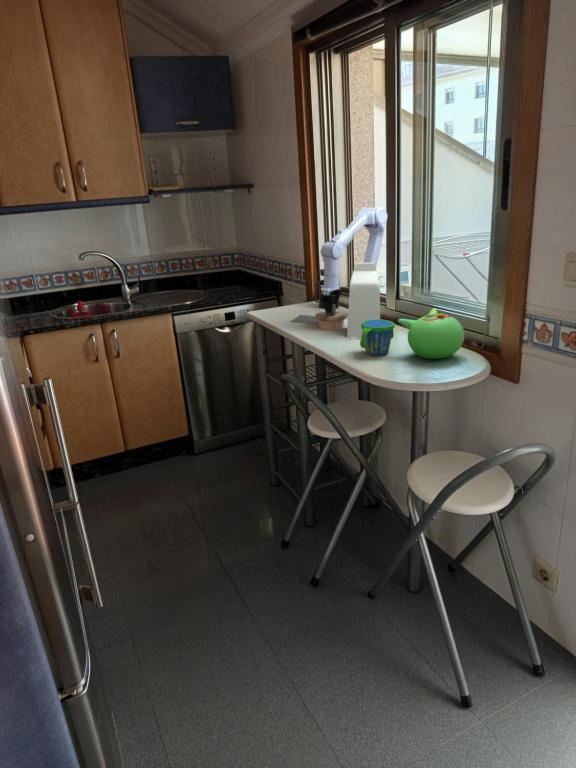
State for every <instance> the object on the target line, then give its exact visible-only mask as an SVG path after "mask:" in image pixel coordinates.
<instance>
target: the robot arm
mask: <svg viewBox="0 0 576 768" xmlns="http://www.w3.org/2000/svg"><path fill="white" fill-rule="evenodd" d="M356 214H357V215H356V216H355V218H354V219H353V220H352V222H351V223H350V224H349V225H348V226H347V227H346V228H342V229H339V230H338V232H337V233H336V235H334V236H333V237H332V238H331V239H330V241H326V242H325V243H323V244H322V246H321V249H320V255H321V257H322V261H323V269H324V276H323V280H324V286H323V285H321V289H323V291H322V292H323V293H322V292H321V293H322V294H320V297H321V299H322V301H323V303H324V307H325V309H324V312H326V313H331V312H332V306H333V304H336V308H337V306H338V301H339V302H340V297H341V295H342V293H343V290H342V289H340V258H341V257H342V256H343V253H344V251H345V249H346V247H347V246H348V245H349V244H350V243H351V242H352V241H353V239H354V238H353V236H354V235H355V234H357V232H359V231H360V230H361V229H362V228H363V227H364V228H365V229H366V230H367V231H368V232H369V235H368V241H367V244H366V250H365V253H364V259H363V262H362V263H374V266H375V268H376V269H377V264H378V261H379V256H380V252H381V247H382V244H383V239H384V234H385V230H386V229H385V228H386V224H387V221H388V213H387V210H386V209H385V208H384V207H382V206H380V207H369V206H368V207H367V206H363V207H361V208H360V210H358V211H357V213H356Z"/></svg>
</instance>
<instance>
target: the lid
mask: <svg viewBox="0 0 576 768" xmlns="http://www.w3.org/2000/svg"><path fill="white" fill-rule="evenodd" d="M336 310H337V309H336V304H333V306H332V312H331V313H326V312H325V311H324V312H323V311H322V312H318V313H315V315H314V316H315V318H316V319H317V320H321V321H340V320H344V321H345V320H346V319H347V314H346V313H344V312H340V311H336Z"/></svg>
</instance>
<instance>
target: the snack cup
mask: <svg viewBox="0 0 576 768" xmlns="http://www.w3.org/2000/svg"><path fill="white" fill-rule="evenodd" d="M395 326H396V325H395V322H393V321H391V320H387V319H381V318H380V319H374V320H366V321H364V322H362V323H361V327H362V329H363V332H362V336H361V338H360V341H359V345H360V347H361V348H362V349H365V350H364V351H365V353H366V354H368V355H370V356H375V355H377V356H378V357H379V355H380V356H385V355H387V354H388V353H389V351H390V345H391V341H392V339H393V338H394V335H395V334H394V333H395V332H394V329H395ZM377 356H376V357H377Z"/></svg>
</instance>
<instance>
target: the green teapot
mask: <svg viewBox="0 0 576 768" xmlns="http://www.w3.org/2000/svg"><path fill="white" fill-rule="evenodd" d="M397 322H398V323H399V324H400V325H401V326H404V327H405V328H407V329H408V332H407V342H408V345H409V347H410V349H411V350H412V351H413V352H414V353H415V354H416V355H418V356H419V357H422V358H425V359H431V360H438V359H444V358H449V357H451V356H452V355H454V354H455V353H457V352H458V351H459V350H460V349H461V348H462V345H463V343H464V341H465V331H464V326H462V324H461V322H460V321H458V320H457V319H456V318H455V317H453V316H450V315H447V314H444V313H438V311H437V309H436V308H435V307H434V308H432V309H431V310H430V311H429V313H428V314H427V315H423V316H421V317H419V318H418V319H407V318H399V319H397Z"/></svg>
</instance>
